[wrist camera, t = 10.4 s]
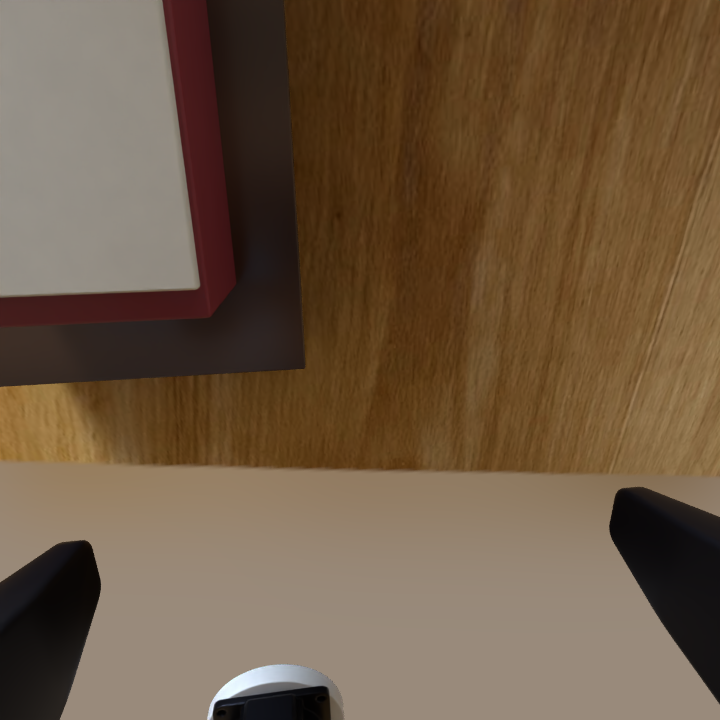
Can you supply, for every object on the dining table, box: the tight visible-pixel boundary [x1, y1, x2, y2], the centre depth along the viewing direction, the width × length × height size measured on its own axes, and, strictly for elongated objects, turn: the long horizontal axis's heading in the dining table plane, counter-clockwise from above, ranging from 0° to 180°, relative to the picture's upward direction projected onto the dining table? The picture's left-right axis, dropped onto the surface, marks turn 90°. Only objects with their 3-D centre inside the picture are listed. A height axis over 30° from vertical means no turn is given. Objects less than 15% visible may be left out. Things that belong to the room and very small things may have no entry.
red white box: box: [0, 0, 236, 328], centre depth 10 cm, size 12×6×5 cm, turn 1°
